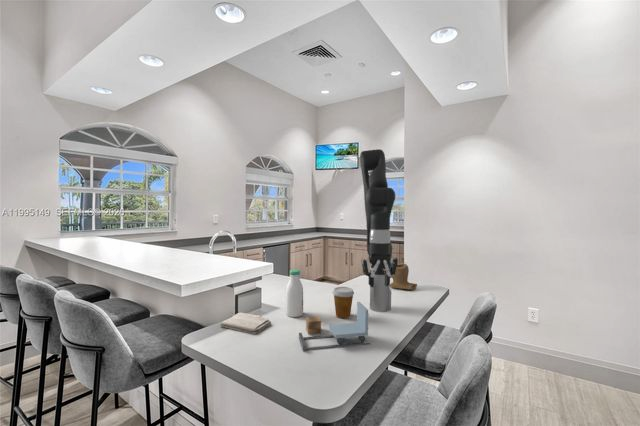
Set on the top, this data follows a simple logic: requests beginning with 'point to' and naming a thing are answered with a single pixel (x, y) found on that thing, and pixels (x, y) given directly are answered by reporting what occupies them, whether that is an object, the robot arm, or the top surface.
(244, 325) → the washcloth
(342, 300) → the disposable coffee cup
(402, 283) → the tan boot
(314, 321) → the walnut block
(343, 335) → the pale blue l-shaped block
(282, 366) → the top surface
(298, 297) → the milk bottle
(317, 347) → the rails
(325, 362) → the top surface
